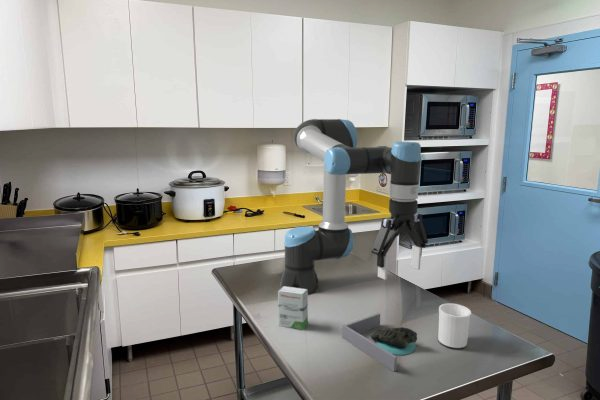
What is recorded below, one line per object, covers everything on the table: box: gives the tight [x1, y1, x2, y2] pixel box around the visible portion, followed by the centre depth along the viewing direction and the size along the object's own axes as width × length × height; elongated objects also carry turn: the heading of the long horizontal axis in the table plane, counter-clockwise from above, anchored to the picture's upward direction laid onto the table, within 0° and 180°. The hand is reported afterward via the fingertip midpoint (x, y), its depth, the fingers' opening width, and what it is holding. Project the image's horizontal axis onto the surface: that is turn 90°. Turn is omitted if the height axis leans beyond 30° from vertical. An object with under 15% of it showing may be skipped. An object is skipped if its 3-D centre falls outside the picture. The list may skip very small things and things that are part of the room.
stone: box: [370, 327, 418, 349], centre depth 122 cm, size 7×13×5 cm, turn 67°
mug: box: [437, 302, 472, 350], centre depth 123 cm, size 11×9×10 cm
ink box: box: [277, 286, 309, 330], centre depth 132 cm, size 9×5×12 cm, turn 71°
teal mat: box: [376, 340, 416, 356], centre depth 122 cm, size 11×11×1 cm
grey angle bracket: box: [341, 312, 398, 372], centre depth 121 cm, size 21×15×4 cm
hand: (399, 272), depth 118 cm, fingers open, 13 cm apart
